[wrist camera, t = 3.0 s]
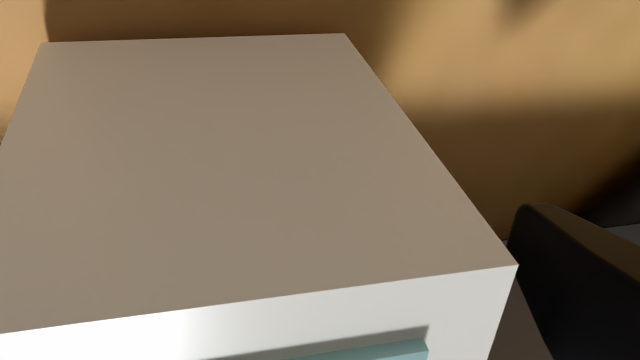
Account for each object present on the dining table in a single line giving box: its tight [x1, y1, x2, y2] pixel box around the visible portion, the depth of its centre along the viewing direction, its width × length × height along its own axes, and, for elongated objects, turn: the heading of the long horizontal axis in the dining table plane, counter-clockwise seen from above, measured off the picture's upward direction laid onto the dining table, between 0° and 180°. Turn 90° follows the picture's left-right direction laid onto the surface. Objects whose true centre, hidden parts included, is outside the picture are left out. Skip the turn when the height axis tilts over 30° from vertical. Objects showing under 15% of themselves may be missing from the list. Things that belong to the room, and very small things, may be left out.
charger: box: [0, 33, 519, 360], centre depth 8 cm, size 4×7×6 cm
